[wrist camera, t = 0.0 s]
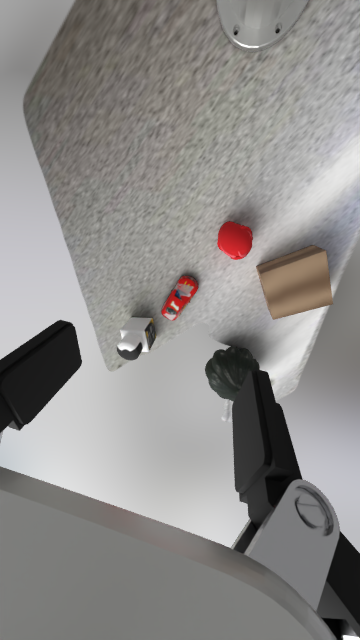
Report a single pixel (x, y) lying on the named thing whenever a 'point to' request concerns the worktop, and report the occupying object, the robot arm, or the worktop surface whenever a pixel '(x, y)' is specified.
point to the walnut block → (296, 282)
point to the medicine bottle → (136, 337)
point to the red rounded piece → (235, 240)
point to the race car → (179, 297)
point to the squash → (229, 371)
